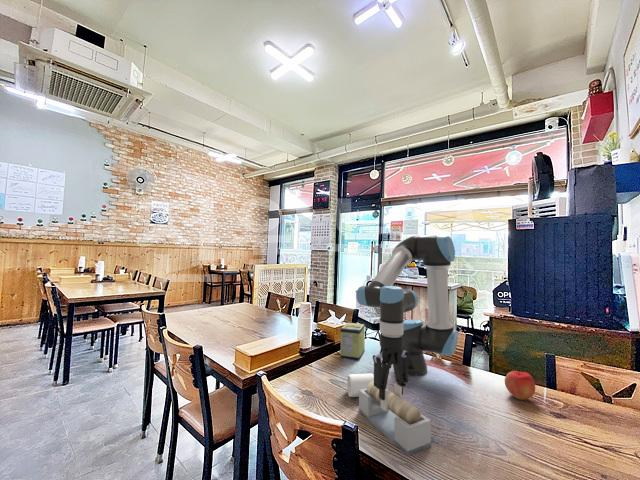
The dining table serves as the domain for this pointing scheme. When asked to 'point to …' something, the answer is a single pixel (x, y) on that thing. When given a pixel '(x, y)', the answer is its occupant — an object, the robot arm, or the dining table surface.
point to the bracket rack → (396, 425)
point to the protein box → (352, 341)
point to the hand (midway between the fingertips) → (391, 407)
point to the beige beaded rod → (397, 405)
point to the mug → (358, 383)
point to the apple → (520, 384)
